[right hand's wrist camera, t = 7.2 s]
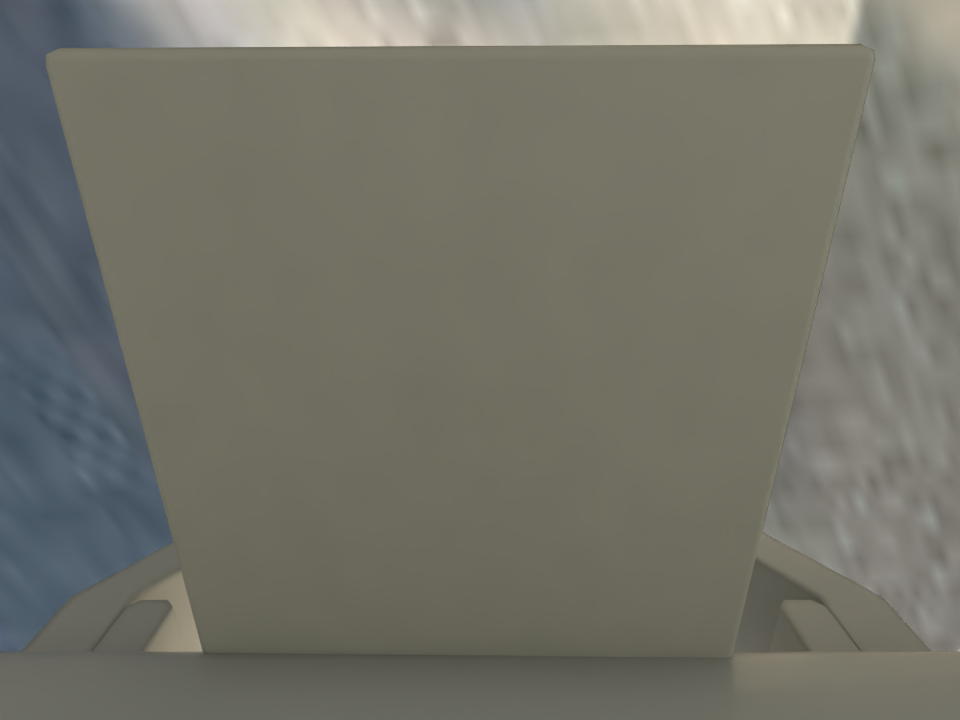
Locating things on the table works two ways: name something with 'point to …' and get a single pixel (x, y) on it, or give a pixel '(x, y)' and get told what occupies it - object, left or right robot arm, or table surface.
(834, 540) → the table surface
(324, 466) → the bar
